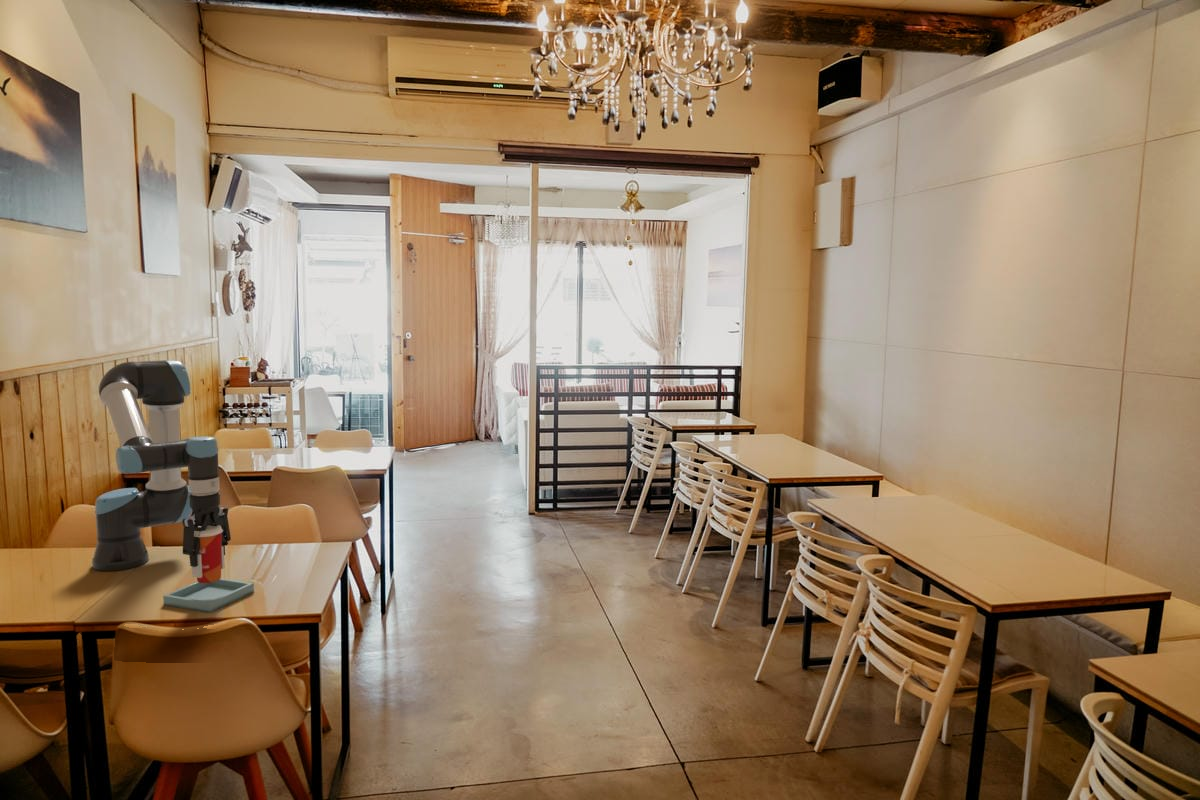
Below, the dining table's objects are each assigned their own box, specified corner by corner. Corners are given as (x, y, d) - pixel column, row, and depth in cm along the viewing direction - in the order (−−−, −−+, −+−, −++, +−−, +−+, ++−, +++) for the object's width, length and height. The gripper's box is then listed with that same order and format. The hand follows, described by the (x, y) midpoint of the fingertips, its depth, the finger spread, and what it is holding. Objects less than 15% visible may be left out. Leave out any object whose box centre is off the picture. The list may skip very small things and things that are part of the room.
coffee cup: (188, 579, 210) (185, 527, 208) (219, 572, 216) (217, 521, 214) (198, 587, 204) (195, 533, 202) (229, 579, 210) (227, 528, 208)
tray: (163, 604, 206) (163, 595, 205) (210, 584, 221) (209, 576, 220) (209, 612, 201) (209, 603, 200) (254, 591, 216) (253, 583, 216)
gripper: (185, 502, 196) (189, 586, 199) (242, 485, 215) (246, 562, 218) (163, 499, 199) (168, 582, 201) (222, 483, 218) (225, 559, 220)
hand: (208, 572), depth 210 cm, fingers closed on coffee cup, 7 cm apart
